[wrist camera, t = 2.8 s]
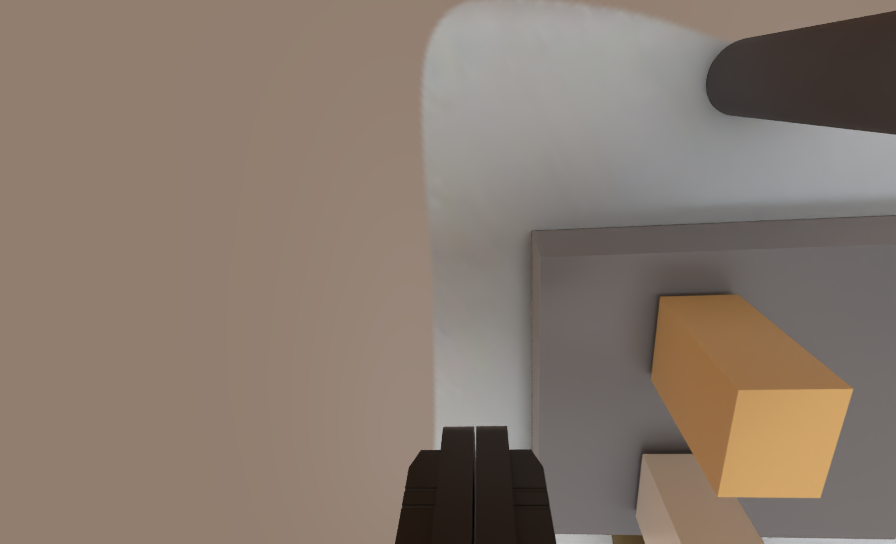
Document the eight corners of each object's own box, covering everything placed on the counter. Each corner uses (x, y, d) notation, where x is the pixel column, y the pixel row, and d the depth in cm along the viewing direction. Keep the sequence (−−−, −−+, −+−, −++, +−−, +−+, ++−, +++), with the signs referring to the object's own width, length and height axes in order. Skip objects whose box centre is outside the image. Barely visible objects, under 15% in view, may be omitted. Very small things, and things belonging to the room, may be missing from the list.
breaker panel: (926, 214, 17) (1015, 239, 14) (841, 479, 21) (895, 539, 18) (531, 230, 18) (540, 257, 15) (531, 478, 22) (538, 533, 20)
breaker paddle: (737, 294, 15) (853, 388, 10) (722, 379, 16) (820, 498, 11) (660, 296, 15) (738, 390, 10) (650, 379, 16) (717, 496, 12)
